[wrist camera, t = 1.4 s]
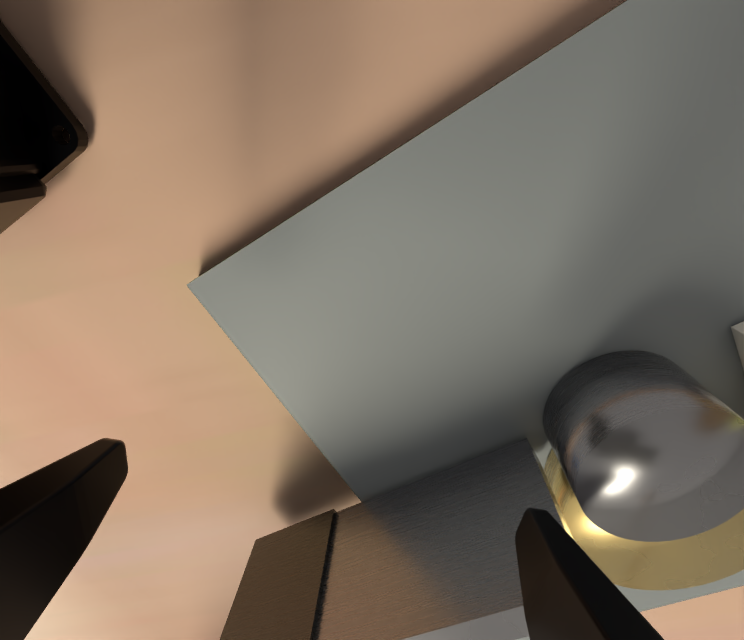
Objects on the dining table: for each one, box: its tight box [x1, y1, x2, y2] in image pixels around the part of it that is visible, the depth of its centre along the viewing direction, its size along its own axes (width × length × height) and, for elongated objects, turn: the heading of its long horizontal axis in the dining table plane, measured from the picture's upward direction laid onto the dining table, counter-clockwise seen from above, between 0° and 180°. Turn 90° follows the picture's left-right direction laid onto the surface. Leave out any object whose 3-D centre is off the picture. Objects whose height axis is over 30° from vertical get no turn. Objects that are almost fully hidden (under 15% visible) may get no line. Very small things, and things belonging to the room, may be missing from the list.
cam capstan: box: [220, 351, 744, 640], centre depth 14 cm, size 9×18×5 cm, turn 121°
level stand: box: [187, 0, 744, 640], centre depth 12 cm, size 22×26×4 cm
